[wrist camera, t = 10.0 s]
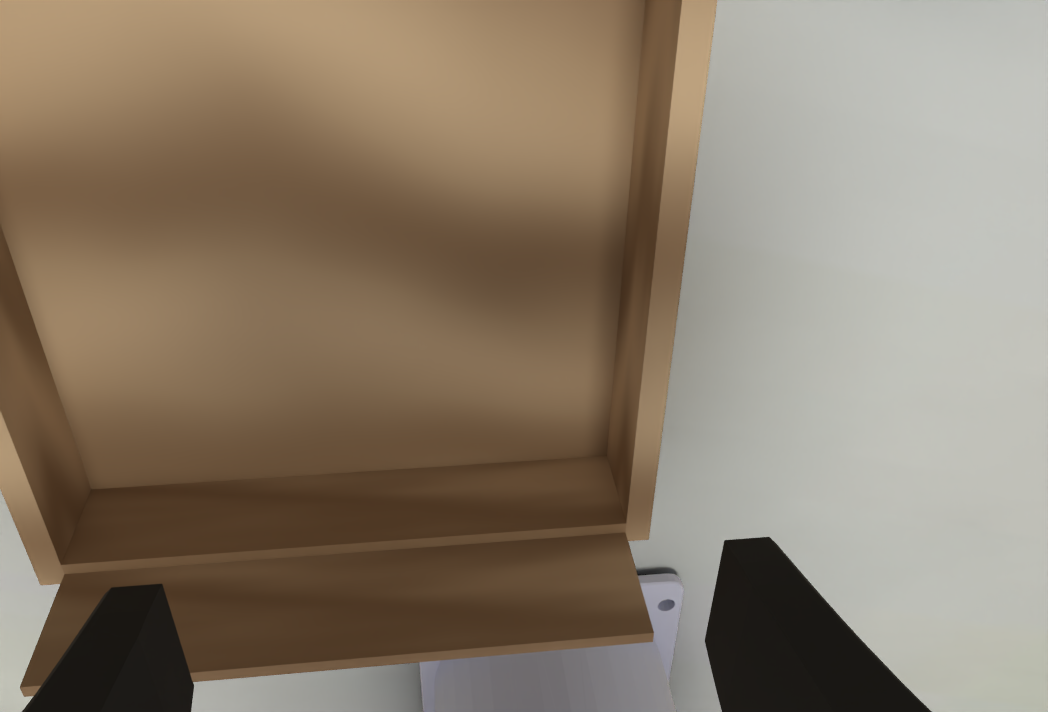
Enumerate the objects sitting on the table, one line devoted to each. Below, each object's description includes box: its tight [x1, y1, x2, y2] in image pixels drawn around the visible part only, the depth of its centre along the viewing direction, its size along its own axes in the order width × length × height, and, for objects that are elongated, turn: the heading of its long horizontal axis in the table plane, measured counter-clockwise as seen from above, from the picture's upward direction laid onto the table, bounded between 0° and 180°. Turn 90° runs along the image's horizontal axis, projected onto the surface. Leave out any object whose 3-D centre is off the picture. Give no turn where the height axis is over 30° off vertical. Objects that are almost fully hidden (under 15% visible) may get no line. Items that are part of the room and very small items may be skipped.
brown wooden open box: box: [0, 0, 717, 697], centre depth 17 cm, size 15×14×6 cm
